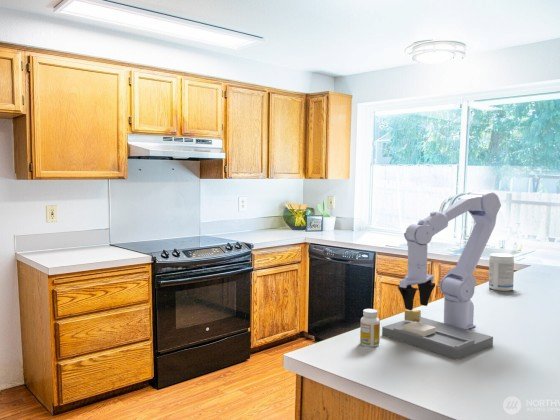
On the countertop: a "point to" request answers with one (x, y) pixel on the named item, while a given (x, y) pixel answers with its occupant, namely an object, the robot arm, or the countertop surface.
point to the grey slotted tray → (441, 338)
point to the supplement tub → (501, 271)
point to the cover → (419, 328)
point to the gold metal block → (413, 315)
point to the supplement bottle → (370, 328)
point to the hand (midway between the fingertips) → (416, 307)
